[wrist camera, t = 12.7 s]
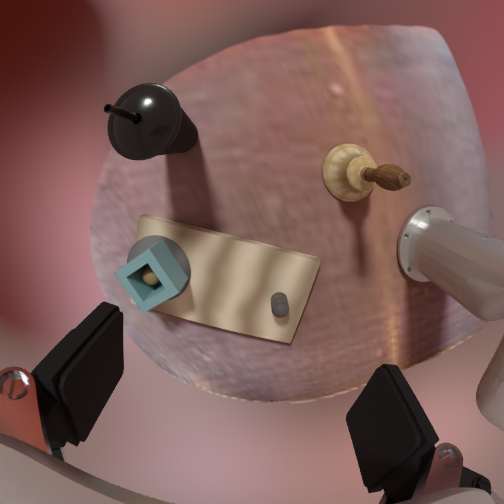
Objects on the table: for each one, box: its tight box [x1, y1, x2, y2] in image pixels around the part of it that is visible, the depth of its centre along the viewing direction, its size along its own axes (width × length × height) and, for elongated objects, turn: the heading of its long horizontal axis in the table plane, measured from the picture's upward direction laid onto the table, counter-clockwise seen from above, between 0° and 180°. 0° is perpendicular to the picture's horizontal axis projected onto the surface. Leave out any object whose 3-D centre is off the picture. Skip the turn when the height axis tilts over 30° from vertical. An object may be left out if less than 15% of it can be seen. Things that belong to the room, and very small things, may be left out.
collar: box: [114, 239, 188, 313], centre depth 35 cm, size 7×7×5 cm
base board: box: [127, 214, 321, 343], centre depth 37 cm, size 27×14×6 cm, turn 76°
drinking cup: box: [104, 83, 198, 160], centre depth 25 cm, size 8×8×20 cm
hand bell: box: [322, 144, 411, 202], centre depth 28 cm, size 8×8×16 cm
